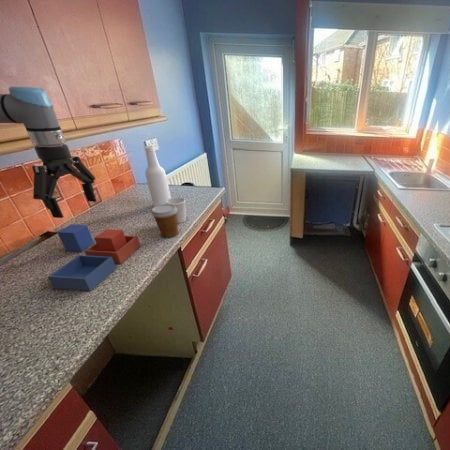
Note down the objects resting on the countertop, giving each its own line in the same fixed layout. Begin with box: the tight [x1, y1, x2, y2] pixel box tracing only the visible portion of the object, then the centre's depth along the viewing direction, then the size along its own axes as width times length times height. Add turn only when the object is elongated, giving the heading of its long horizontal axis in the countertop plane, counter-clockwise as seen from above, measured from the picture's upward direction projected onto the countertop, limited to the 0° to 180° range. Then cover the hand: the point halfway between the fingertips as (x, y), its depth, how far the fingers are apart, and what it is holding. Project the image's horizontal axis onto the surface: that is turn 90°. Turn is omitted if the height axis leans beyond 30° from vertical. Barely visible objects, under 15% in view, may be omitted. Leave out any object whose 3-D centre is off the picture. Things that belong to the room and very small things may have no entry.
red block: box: [93, 228, 127, 252], centre depth 90 cm, size 6×6×8 cm
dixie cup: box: [165, 196, 187, 224], centre depth 114 cm, size 8×8×10 cm
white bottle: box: [144, 145, 172, 208], centre depth 124 cm, size 9×9×30 cm
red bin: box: [84, 235, 141, 264], centre depth 91 cm, size 11×11×5 cm
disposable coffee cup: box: [150, 204, 179, 238], centre depth 103 cm, size 10×10×12 cm
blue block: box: [56, 223, 95, 253], centre depth 93 cm, size 6×6×8 cm
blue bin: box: [47, 254, 117, 292], centre depth 79 cm, size 11×11×5 cm
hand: (76, 208), depth 85 cm, fingers open, 13 cm apart
